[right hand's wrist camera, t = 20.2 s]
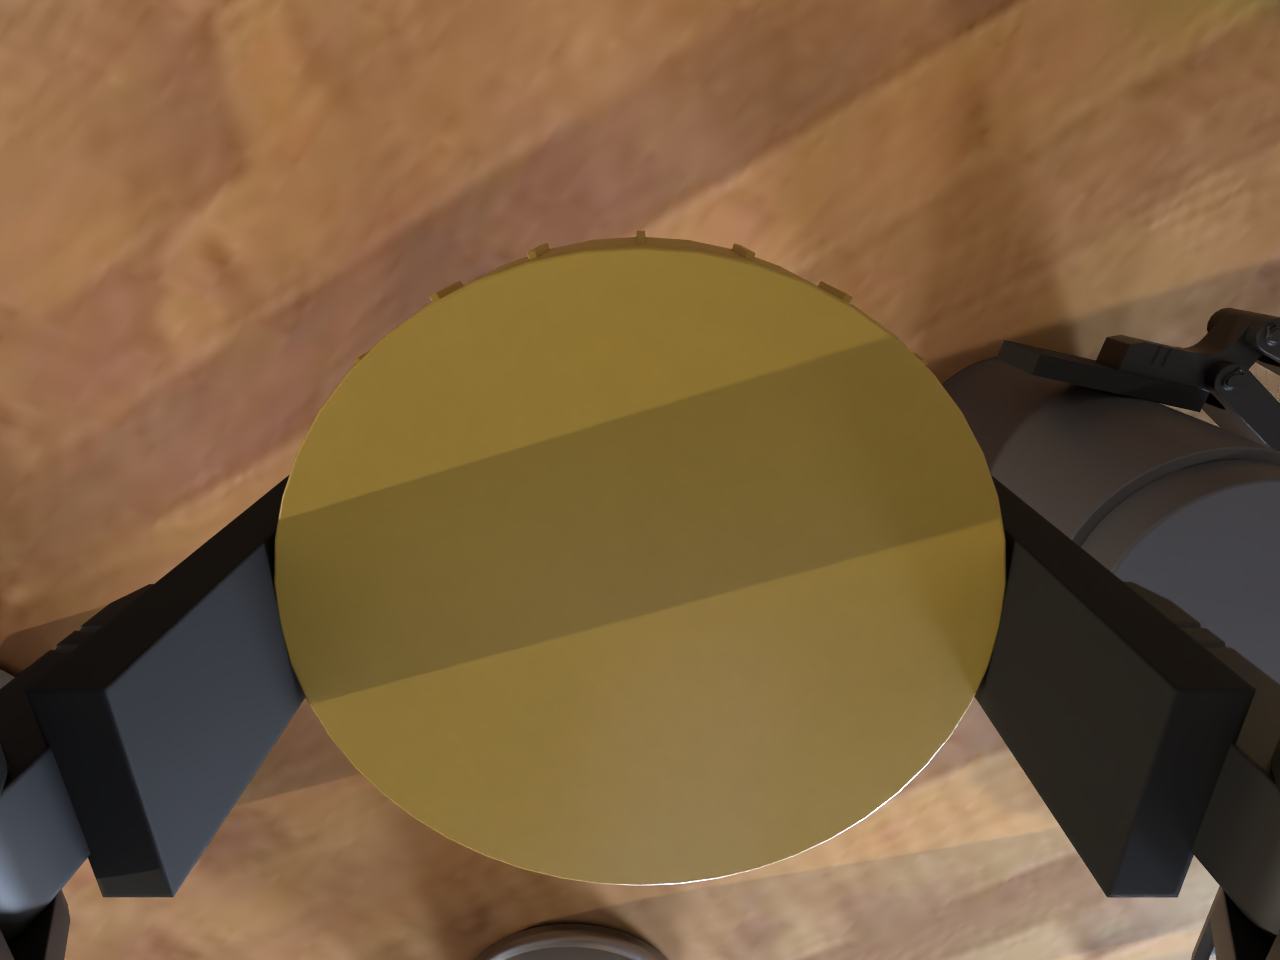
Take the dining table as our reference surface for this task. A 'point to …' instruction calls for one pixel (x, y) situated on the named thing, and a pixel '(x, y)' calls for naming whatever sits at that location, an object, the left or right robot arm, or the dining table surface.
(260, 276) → the dining table surface
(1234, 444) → the jar
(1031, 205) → the dining table surface
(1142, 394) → the left robot arm
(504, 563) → the lid
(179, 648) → the right robot arm
